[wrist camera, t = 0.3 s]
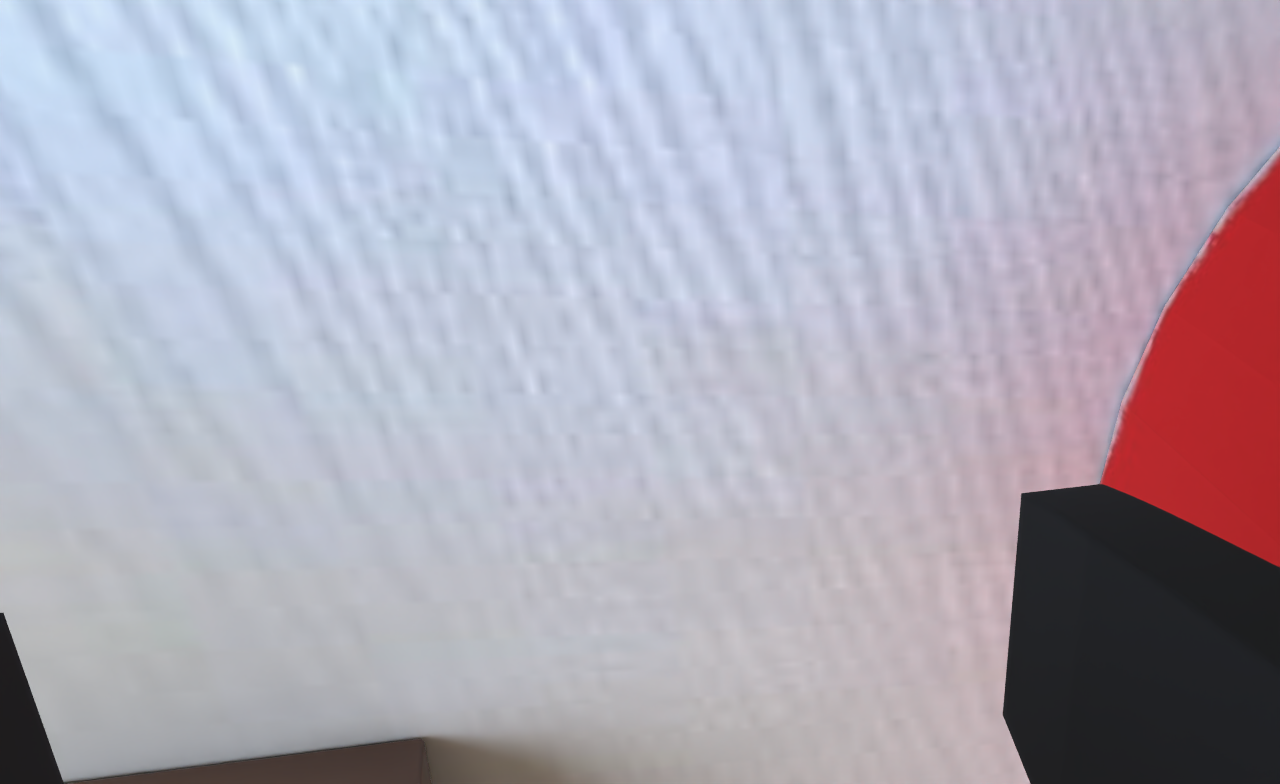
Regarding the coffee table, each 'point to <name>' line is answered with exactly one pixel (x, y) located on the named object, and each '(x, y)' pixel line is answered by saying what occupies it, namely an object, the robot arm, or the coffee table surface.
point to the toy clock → (1214, 385)
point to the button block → (305, 768)
